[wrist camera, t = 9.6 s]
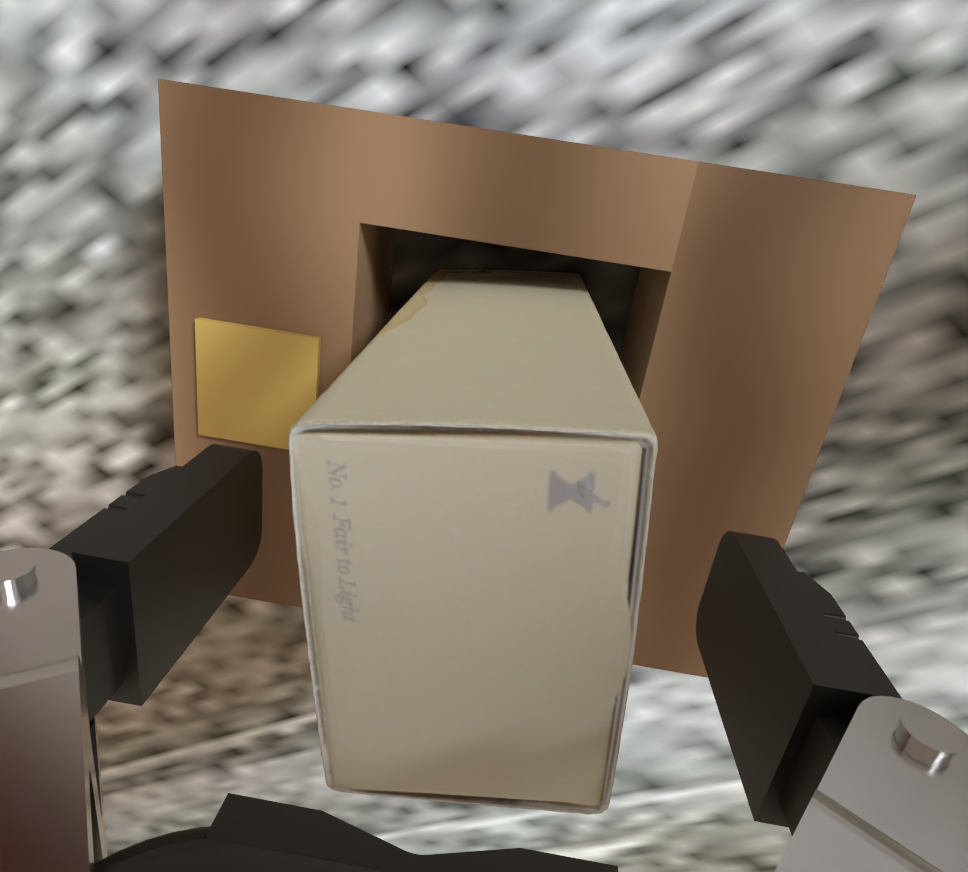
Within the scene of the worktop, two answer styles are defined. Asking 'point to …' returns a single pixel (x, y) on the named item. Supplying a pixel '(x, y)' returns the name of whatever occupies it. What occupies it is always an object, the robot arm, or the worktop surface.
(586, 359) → the skincare box
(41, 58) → the worktop surface
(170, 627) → the robot arm
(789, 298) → the brown square frame block
